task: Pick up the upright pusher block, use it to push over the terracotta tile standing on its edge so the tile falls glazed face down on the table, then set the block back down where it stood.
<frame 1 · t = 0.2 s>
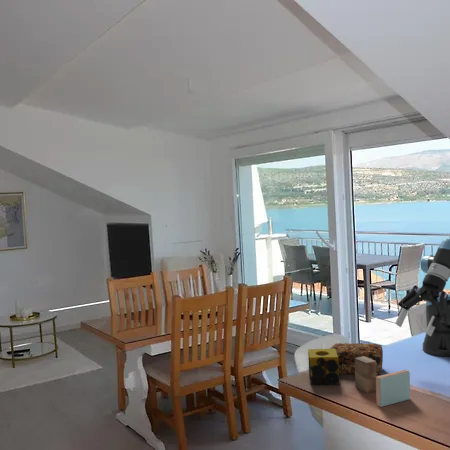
hand: (412, 329, 182), 16 cm above the table, tool tilted 35°, fingers open, 13 cm apart
tile: (393, 402, 158), on the table
yellow spotted cube: (324, 380, 180), on the table
bread: (356, 371, 188), on the table
pusher: (366, 388, 170), on the table
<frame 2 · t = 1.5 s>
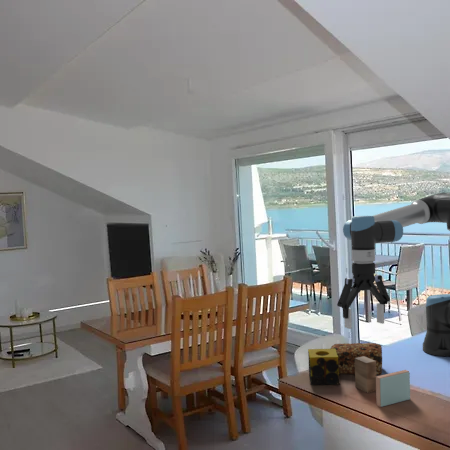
hand: (364, 325, 169), 21 cm above the table, tool pointing down, fingers open, 13 cm apart
nothing on the table moved.
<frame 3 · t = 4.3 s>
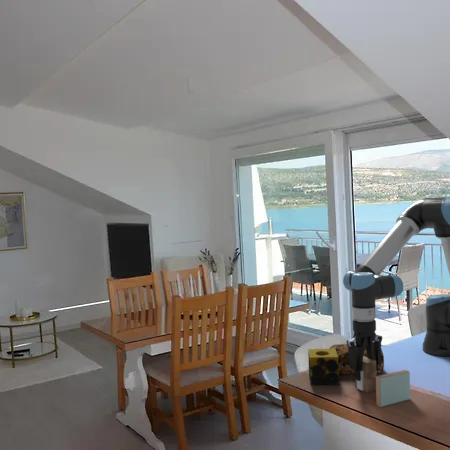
hand: (366, 387, 170), 0 cm above the table, tool pointing down, fingers closed on pusher, 4 cm apart
pusher: (366, 388, 170), on the table, touching gripper
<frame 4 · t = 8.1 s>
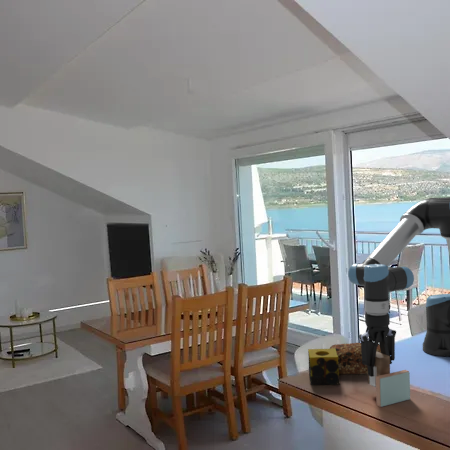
hand: (379, 384, 164), 4 cm above the table, tool pointing down, fingers closed on pusher, 4 cm apart
pusher: (379, 385, 164), point 3 cm above the table, touching gripper
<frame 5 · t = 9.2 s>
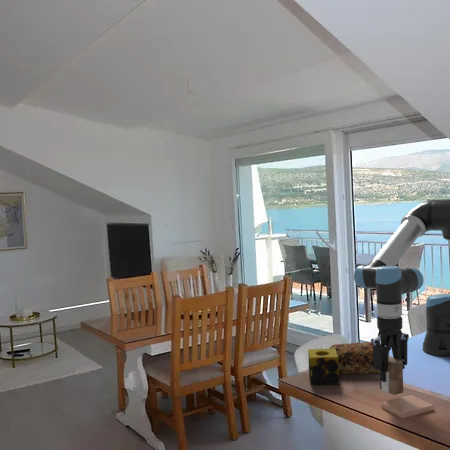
hand: (391, 389, 159), 4 cm above the table, tool pointing down, fingers closed on pusher, 4 cm apart
tile: (396, 401, 157), on the table, tilted 90°
pusher: (391, 390, 159), point 3 cm above the table, touching gripper
everything else where it was.
when the fingers open (1 cm above the table, at t = 12.1 s): pusher stays where it is, on the table.
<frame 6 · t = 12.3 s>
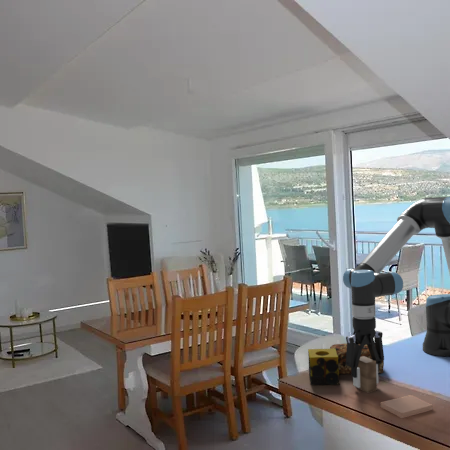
hand: (365, 384, 170), 2 cm above the table, tool pointing down, fingers open, 7 cm apart
pusher: (366, 388, 170), on the table
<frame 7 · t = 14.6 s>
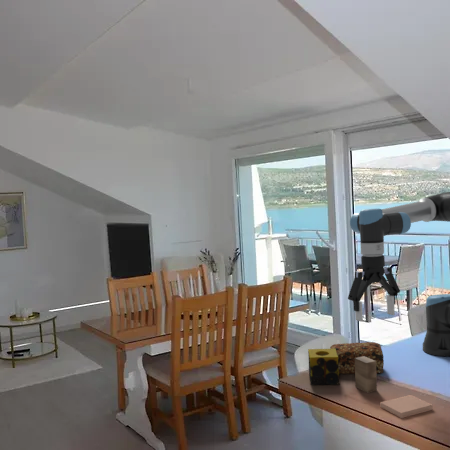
hand: (375, 317, 171), 24 cm above the table, tool pointing down, fingers open, 13 cm apart
nothing on the table moved.
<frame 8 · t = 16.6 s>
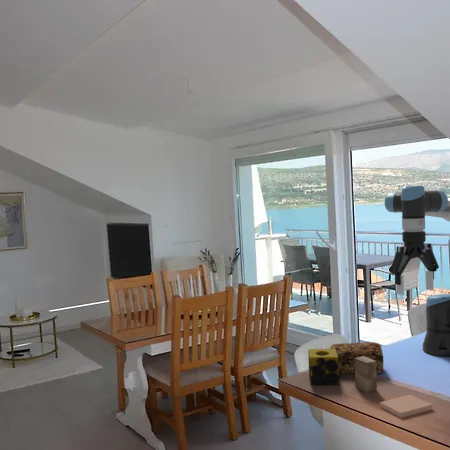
hand: (415, 291, 176), 31 cm above the table, tool pointing down, fingers open, 13 cm apart
nothing on the table moved.
at the end: tile tilted 90°; tile inside the target area (5.2 cm from its centre), point 0.5 cm above the table; the gripper is holding nothing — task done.
